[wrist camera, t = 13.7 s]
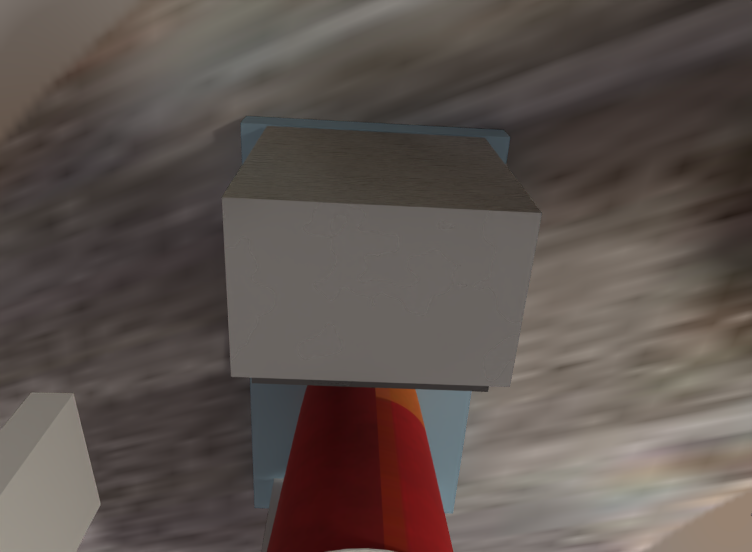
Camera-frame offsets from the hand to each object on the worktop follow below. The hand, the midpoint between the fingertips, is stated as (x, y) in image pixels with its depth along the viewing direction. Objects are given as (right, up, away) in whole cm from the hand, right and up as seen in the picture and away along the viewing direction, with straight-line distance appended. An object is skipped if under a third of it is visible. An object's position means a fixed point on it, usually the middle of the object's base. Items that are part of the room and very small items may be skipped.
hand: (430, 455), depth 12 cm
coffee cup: (-2, -3, +22) cm, 23 cm away
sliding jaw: (-1, +7, +17) cm, 18 cm away
